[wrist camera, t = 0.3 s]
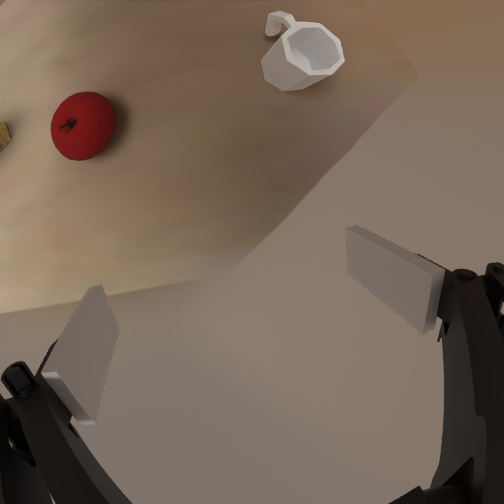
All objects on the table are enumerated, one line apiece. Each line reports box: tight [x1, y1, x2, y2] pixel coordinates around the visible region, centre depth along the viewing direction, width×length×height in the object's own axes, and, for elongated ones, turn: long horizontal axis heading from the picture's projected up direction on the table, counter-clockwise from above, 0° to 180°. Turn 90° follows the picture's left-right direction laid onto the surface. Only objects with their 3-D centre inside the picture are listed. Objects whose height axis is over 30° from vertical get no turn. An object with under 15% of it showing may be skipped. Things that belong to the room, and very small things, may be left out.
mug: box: [261, 11, 345, 92], centre depth 30 cm, size 12×9×10 cm
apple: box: [51, 92, 116, 161], centre depth 28 cm, size 9×9×10 cm
